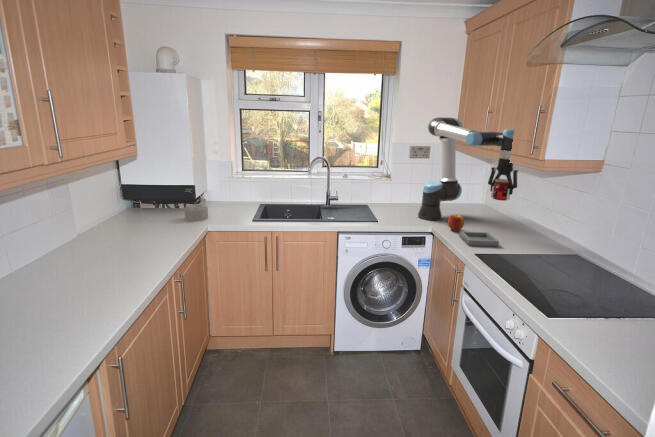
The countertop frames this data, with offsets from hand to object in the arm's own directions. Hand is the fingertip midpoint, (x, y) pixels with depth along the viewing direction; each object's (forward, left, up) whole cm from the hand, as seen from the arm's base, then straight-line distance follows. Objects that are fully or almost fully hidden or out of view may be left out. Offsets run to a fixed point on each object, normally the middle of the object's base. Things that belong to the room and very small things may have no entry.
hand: (500, 198), depth 212 cm
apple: (-4, -21, -21) cm, 31 cm away
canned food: (0, 0, -1) cm, 1 cm away
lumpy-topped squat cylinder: (-7, -177, -21) cm, 179 cm away
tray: (+15, -14, -21) cm, 29 cm away
